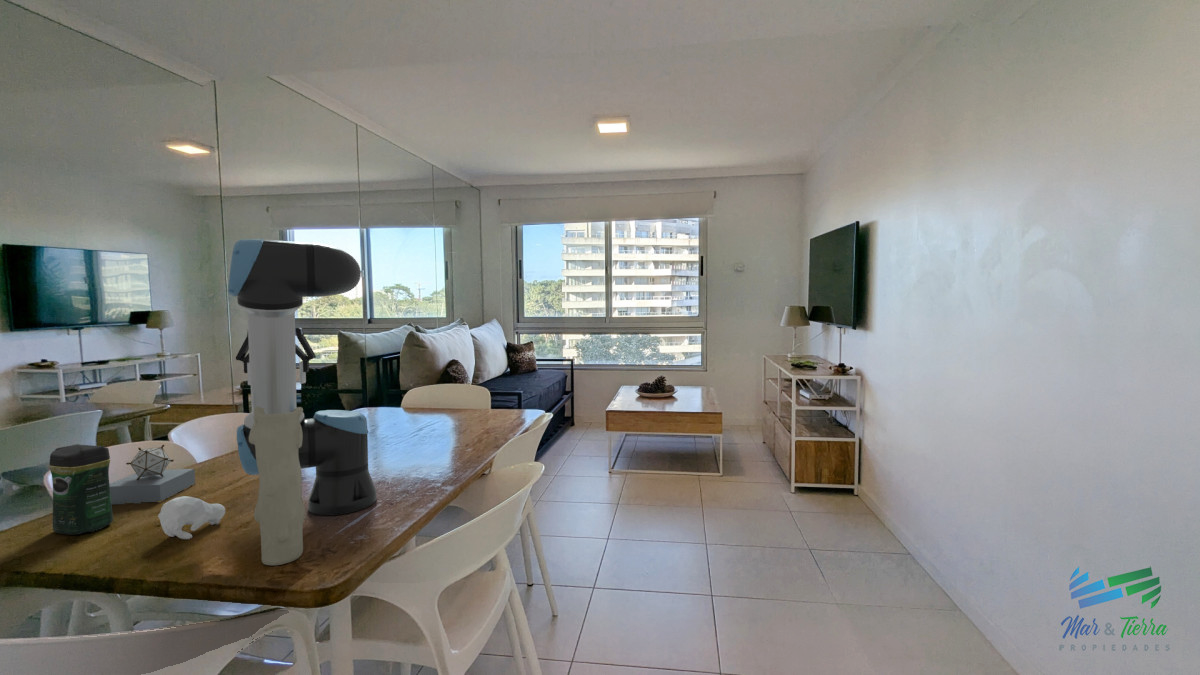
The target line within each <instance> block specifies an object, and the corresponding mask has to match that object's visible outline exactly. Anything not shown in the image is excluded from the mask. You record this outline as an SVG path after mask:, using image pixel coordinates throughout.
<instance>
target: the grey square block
mask: <svg viewBox="0 0 1200 675" xmlns="http://www.w3.org/2000/svg"><path fill="white" fill-rule="evenodd" d="M195 471H196V470H195V468H177V469H176V468H175V469H174V468H173V469H170V468H169V469H165V470H164V471H163V472H162V474H163V477H162V476H160V475H153V476H146V477H140V479H139V480H137V478H138V475H137V474H136V472H135V473H133V474H130V475H128V476H125V477H123V478H121V479H118V480H116V481H113V482H111V483H110V482H109V485H110V496H111V504H112V505H126V504H125V503H134V504H142V503H141V502H157V501H162V500H164V501H166V500H167V499H166V498H168V497H170V496H172V495H174V494H176V493H178V492H180V491H182V490H184V489H185V488H188V487H189V486H191V485H193V484H195V485H196V472H195ZM188 489H189V488H188ZM184 491H185V490H184ZM182 492H183V491H182ZM180 493H181V492H180ZM178 494H179V493H178ZM176 495H177V494H176ZM174 496H175V495H174ZM172 497H173V496H172ZM170 498H171V497H170ZM165 499H166V500H165ZM168 499H169V498H168ZM162 502H163V501H162ZM157 503H158V502H157Z"/></svg>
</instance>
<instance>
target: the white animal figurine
mask: <svg viewBox="0 0 1200 675" xmlns="http://www.w3.org/2000/svg"><path fill="white" fill-rule="evenodd" d="M225 514H226V508H225V506H224V505H222V504H220V503H208V502H206V500H205V501H204V500H202V499H200V498H197V497H193V496H184V495H183V496H178V497H174V498H172V499H171V500H168V501H167V502H165V503H163V505H162V506H161V508H160V512H159V513H158V515H157V517H158V519H159V521H160V525H161V528H162V530H163V532H164V534H165V535H167V536H168V537H172V538H173V537H175V536H176V537H177V538H178V539H180V540H191V539H192V538H193V535H192V533H190V532H189V531H183V527H184V526H185V525H187V526H189V525H190V530H191V531H192V532H195V531H196V530H198V529H199V528H200V527H202V526H203V525H204V524H207V523H209V524H210V525H211V526H212V525H217V526H218V524H219V523H220V522H221V520H222V519H223V517H224V516H225ZM190 538H191V539H190Z"/></svg>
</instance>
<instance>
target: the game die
mask: <svg viewBox="0 0 1200 675" xmlns="http://www.w3.org/2000/svg"><path fill="white" fill-rule="evenodd" d="M164 447H165V444H162V445H161V446H160V447H151V448H143V449H142V448H141V447H139V446H138V448H137V449H138V450H139V451H138V452H137V453H136V455H135V456H134V457H133V459H132V460H131V461H130V462H126V463H125V465H129V466H131V468H132V470H134V472H135V473H136V474H137V475H138V478H137V480H139V479H140V477H146V476H153V475H160V476H162V477H163V474H162V472H163V471H164V470H166V469H167V467H168V465H169V464H170V463H172V462H174V461H175V459H170V457H169V456H168V454H167V453H166V451H165V449H164Z"/></svg>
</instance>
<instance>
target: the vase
mask: <svg viewBox="0 0 1200 675" xmlns="http://www.w3.org/2000/svg"><path fill="white" fill-rule="evenodd" d="M302 412H303V413H304V409H303V407H301V406H297V408H295V409H294V410H293V412H289V413H282V414H265V412H264V409H263V408H260V407H255V408H254V424H253V426H252V428H251V431H250V434H249V442H250V443H251V444H254V445H255V450H256V462H257V467H258V472H259V475H258V477H259V484H258V486H259V487H258V493H257V502H256V505H255V509H254V512H253V518H254V520H255V521H256V522H257V523H259V530H260V531H259V532H260V545H261V546H260V549H261V550H260V551H261V562H262V564H263V565H266V566H279V565H284V564H289V563H291V562H294V561H296V560H298V559H299V558H300V557H301V556H302V554H303V552H304V542H303V541H304V540H303V537H304V536H303V524H304V521H305V519H306V508H305V503H304V500H303V486H302V482H303V481H302V480H303V476H302V474H303V473H302V469H301V467H300V462H299V456H298V449H299V448H300V447H301V446H302V440H303V434H302V428H301V425H300V420H299V419H300V416H301V414H302Z"/></svg>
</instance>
